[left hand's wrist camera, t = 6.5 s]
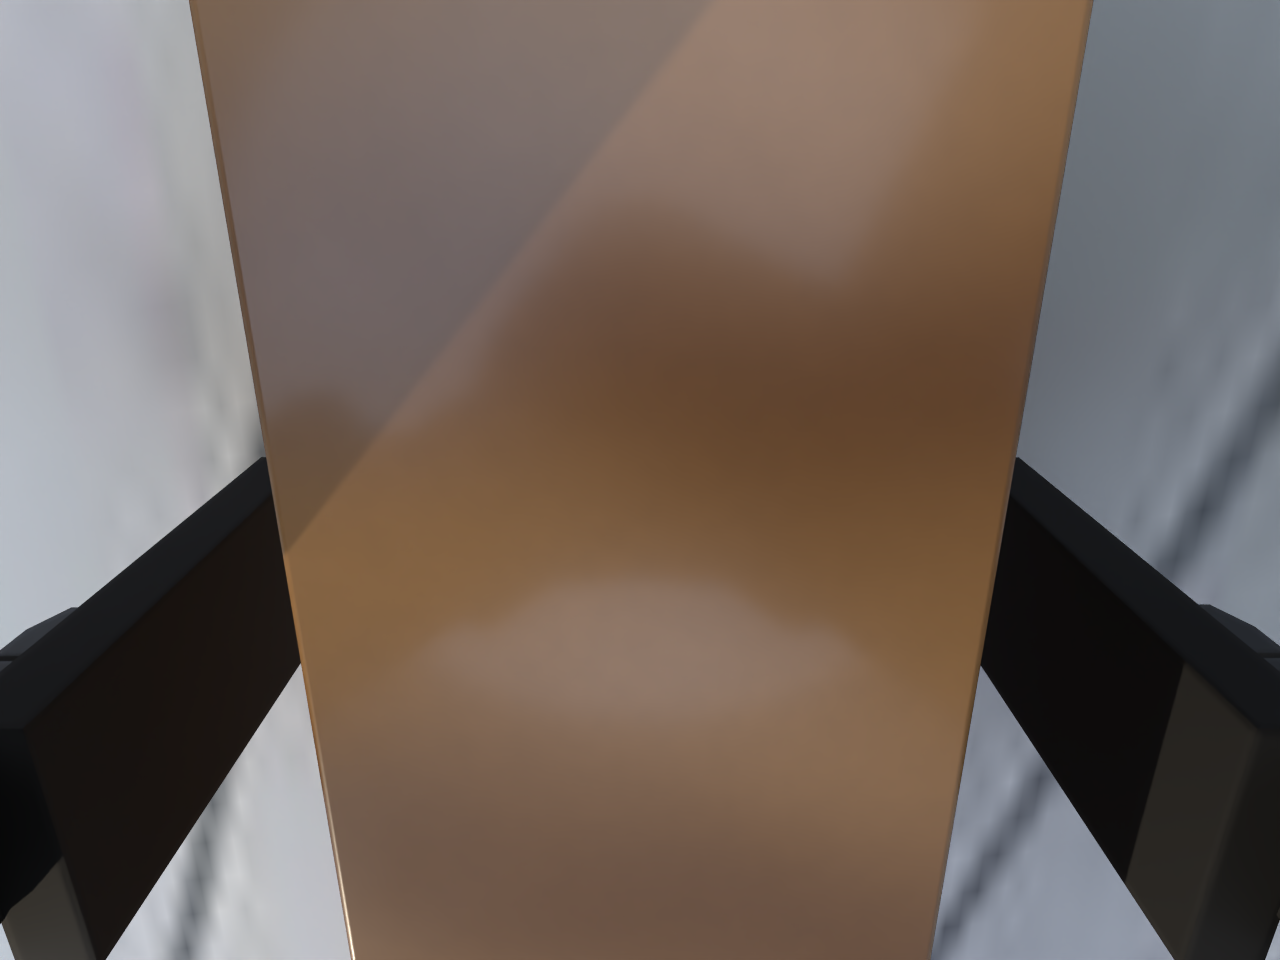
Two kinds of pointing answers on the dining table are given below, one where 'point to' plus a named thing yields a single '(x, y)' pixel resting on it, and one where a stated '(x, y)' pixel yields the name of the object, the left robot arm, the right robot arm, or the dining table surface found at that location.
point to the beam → (640, 444)
